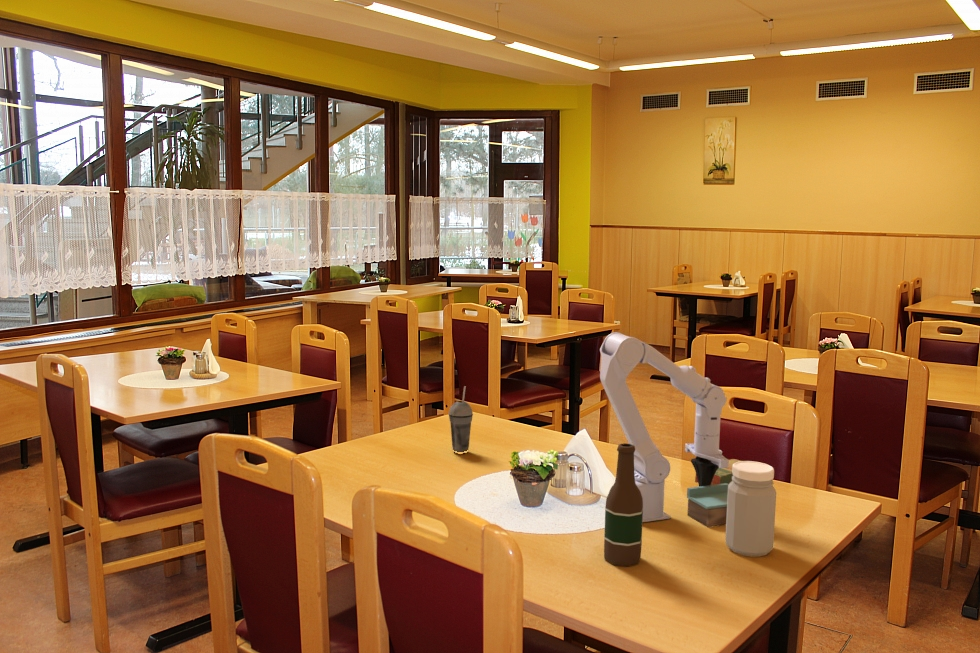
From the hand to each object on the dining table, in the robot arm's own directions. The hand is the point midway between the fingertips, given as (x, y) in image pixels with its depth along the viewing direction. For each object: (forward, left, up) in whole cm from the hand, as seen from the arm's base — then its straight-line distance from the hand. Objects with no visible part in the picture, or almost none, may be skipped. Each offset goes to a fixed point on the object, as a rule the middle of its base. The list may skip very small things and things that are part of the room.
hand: (704, 488), depth 188 cm
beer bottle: (-32, -19, -6) cm, 38 cm away
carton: (+20, +17, -6) cm, 27 cm away
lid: (0, -5, -1) cm, 5 cm away
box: (0, -6, -5) cm, 8 cm away
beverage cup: (-40, +64, -6) cm, 76 cm away
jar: (-4, -22, -6) cm, 23 cm away
